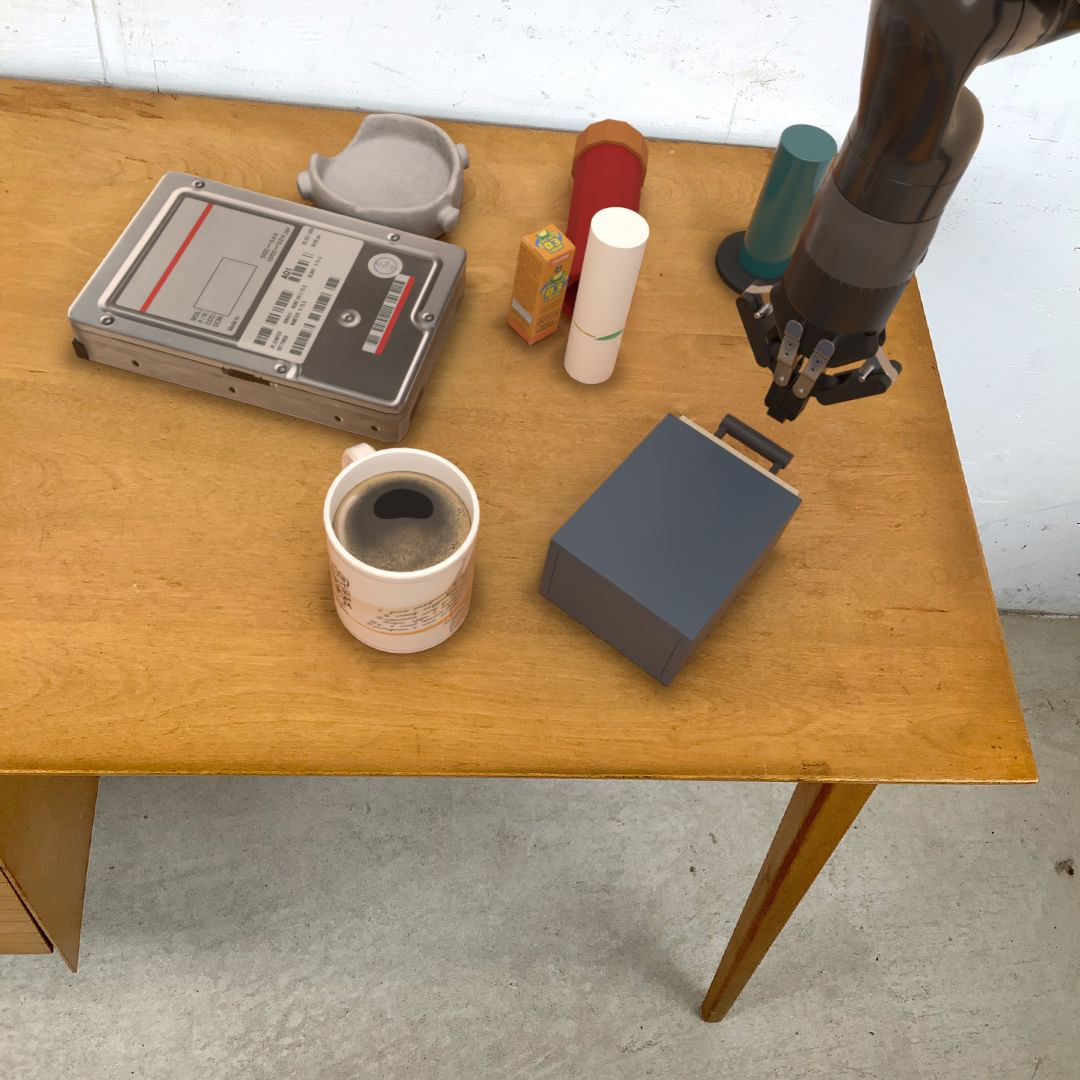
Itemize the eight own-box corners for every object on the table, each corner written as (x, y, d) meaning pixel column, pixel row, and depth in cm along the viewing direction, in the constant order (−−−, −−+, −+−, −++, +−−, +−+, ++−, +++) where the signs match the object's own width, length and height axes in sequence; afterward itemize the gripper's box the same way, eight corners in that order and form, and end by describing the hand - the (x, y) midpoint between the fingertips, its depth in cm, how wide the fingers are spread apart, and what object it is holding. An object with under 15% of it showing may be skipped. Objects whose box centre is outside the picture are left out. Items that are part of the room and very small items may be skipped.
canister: (797, 260, 95) (848, 143, 84) (771, 287, 93) (820, 169, 82) (754, 235, 96) (799, 115, 85) (727, 260, 94) (770, 141, 83)
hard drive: (177, 209, 90) (167, 168, 87) (467, 287, 89) (470, 249, 86) (77, 356, 81) (61, 317, 77) (401, 446, 80) (401, 410, 76)
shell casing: (640, 184, 99) (654, 122, 93) (625, 331, 89) (641, 271, 83) (571, 172, 99) (581, 109, 93) (548, 318, 88) (558, 258, 83)
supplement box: (531, 349, 86) (544, 261, 78) (506, 324, 88) (516, 234, 79) (560, 332, 88) (577, 244, 79) (535, 308, 89) (549, 218, 80)
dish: (287, 230, 91) (281, 185, 86) (348, 139, 98) (345, 93, 94) (440, 277, 90) (442, 233, 85) (490, 181, 97) (493, 136, 93)
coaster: (825, 267, 96) (828, 262, 95) (778, 318, 92) (780, 313, 91) (746, 220, 98) (748, 215, 98) (697, 268, 94) (698, 263, 93)
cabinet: (648, 471, 81) (669, 411, 75) (770, 553, 78) (803, 499, 72) (537, 592, 74) (550, 538, 68) (667, 687, 71) (692, 640, 65)
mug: (308, 640, 70) (293, 559, 61) (349, 499, 77) (341, 406, 67) (458, 665, 70) (465, 589, 61) (486, 523, 77) (496, 434, 67)
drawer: (693, 428, 83) (711, 382, 78) (801, 499, 80) (827, 456, 75) (564, 570, 74) (575, 528, 69) (680, 654, 72) (700, 617, 67)
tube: (558, 376, 85) (585, 239, 72) (569, 340, 87) (597, 201, 75) (608, 389, 85) (643, 254, 72) (617, 353, 87) (654, 215, 75)
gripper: (744, 220, 64) (684, 396, 79) (928, 327, 61) (830, 490, 75) (802, 165, 67) (734, 343, 82) (980, 263, 64) (876, 430, 79)
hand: (780, 413), depth 79 cm, fingers closed
